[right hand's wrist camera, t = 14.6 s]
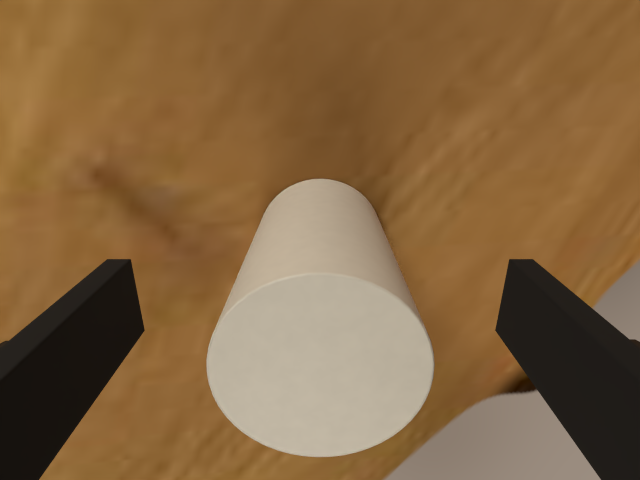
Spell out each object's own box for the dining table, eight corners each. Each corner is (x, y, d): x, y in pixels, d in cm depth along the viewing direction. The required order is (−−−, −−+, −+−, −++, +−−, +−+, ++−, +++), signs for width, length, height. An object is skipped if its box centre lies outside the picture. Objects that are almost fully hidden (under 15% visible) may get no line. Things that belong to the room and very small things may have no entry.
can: (317, 311, 20) (316, 487, 11) (234, 235, 18) (158, 371, 10) (405, 240, 18) (480, 379, 10) (323, 151, 17) (326, 223, 8)
